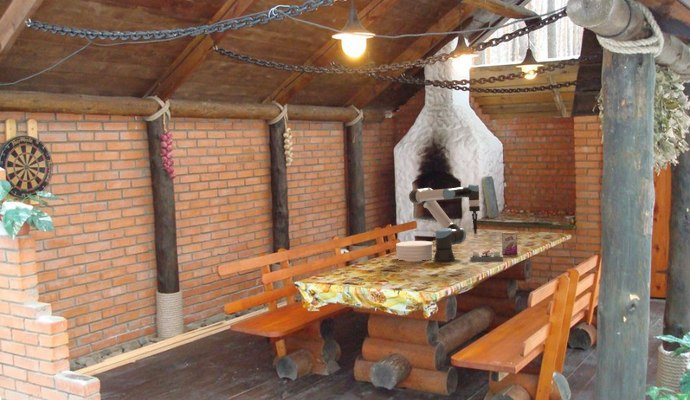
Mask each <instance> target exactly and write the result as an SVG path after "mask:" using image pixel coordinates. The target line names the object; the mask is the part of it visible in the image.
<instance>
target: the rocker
mask: <svg viewBox="0 0 690 400" xmlns="http://www.w3.org/2000/svg"><path fill="white" fill-rule="evenodd" d="M489 253H491V251H490V249H488V250H485V251H483V252H481V255H485V254H489Z"/></svg>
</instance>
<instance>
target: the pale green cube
mask: <svg viewBox="0 0 690 400" xmlns="http://www.w3.org/2000/svg"><path fill="white" fill-rule="evenodd" d="M493 251H494V252H493V253H494V254H493V255H495V256H500V255H501V254H500V250H493Z"/></svg>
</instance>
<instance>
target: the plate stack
mask: <svg viewBox="0 0 690 400" xmlns="http://www.w3.org/2000/svg"><path fill="white" fill-rule="evenodd" d="M433 245H434V243H433V241H427V240H407V241H401V242H397V243H396V244H395V250H396V260H397V259H399V260H405V261H404V262H411V261H412V262H423V261H422V260H426V261H430V259H431V260H434V246H433ZM399 260H398V261H399Z"/></svg>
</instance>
